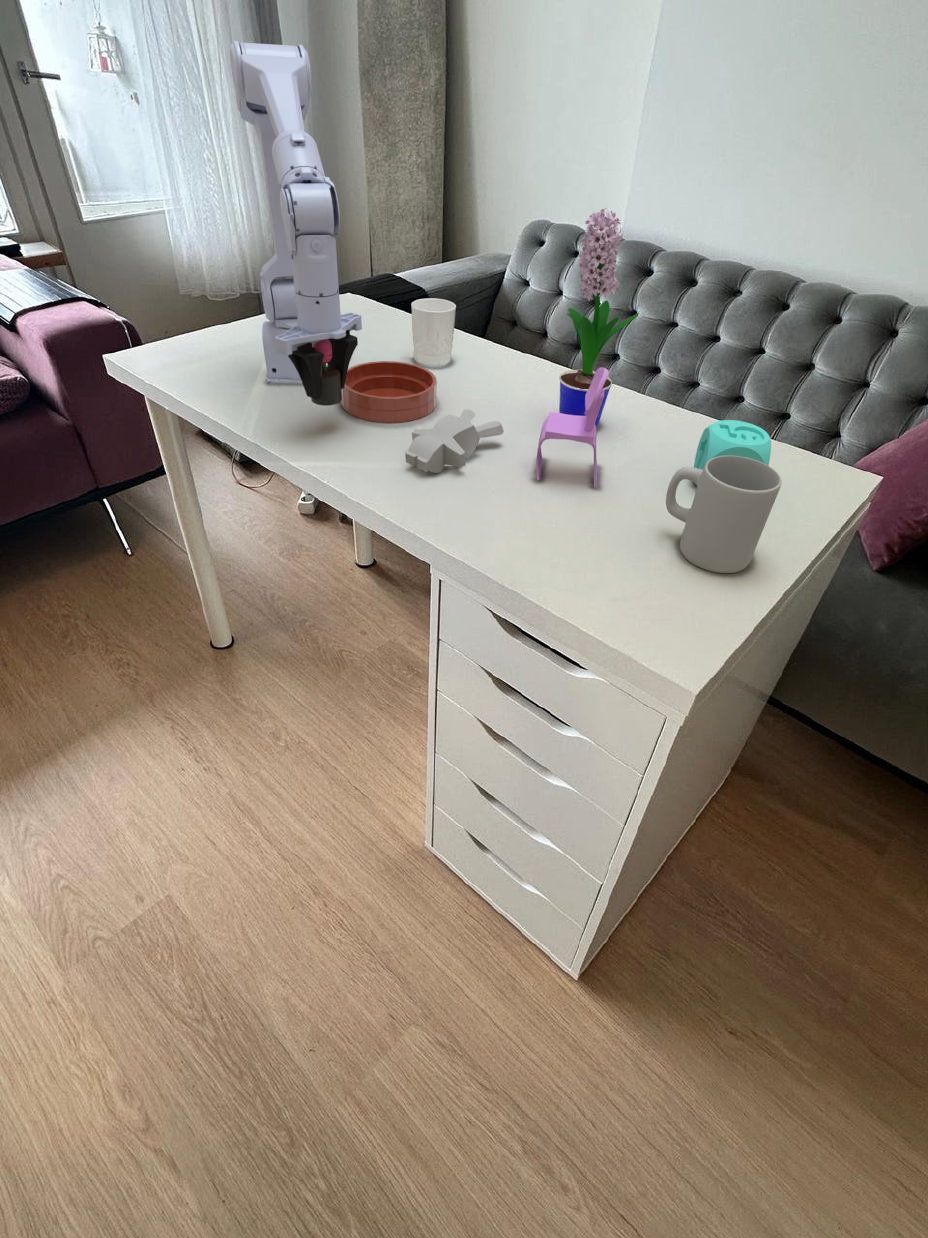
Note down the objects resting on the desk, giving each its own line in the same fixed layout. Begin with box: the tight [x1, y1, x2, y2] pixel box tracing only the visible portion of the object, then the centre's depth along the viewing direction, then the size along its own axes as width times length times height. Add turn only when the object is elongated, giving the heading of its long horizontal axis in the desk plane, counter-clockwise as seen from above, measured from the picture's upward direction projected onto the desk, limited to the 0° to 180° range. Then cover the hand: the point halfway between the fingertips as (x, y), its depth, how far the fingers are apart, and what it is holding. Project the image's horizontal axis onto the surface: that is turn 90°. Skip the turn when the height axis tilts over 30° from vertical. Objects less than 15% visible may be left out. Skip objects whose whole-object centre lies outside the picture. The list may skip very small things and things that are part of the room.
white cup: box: [410, 297, 457, 367], centre depth 122 cm, size 8×8×10 cm
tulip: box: [310, 339, 342, 407], centre depth 95 cm, size 4×4×9 cm
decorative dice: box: [693, 419, 772, 470], centre depth 93 cm, size 8×8×8 cm
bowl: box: [340, 360, 438, 424], centre depth 108 cm, size 15×15×4 cm
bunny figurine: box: [404, 409, 505, 474], centre depth 96 cm, size 10×5×15 cm
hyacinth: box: [558, 207, 640, 430], centre depth 98 cm, size 9×10×30 cm
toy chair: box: [535, 366, 610, 489], centre depth 90 cm, size 8×9×15 cm
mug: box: [665, 456, 782, 574], centre depth 79 cm, size 12×8×11 cm
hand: (325, 391), depth 97 cm, fingers closed on tulip, 4 cm apart
